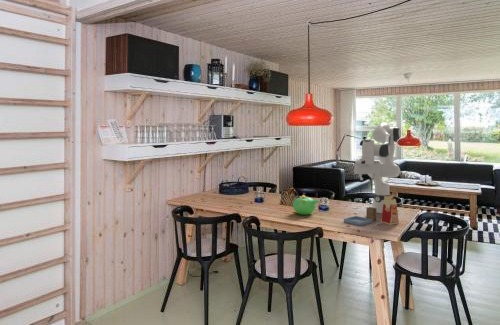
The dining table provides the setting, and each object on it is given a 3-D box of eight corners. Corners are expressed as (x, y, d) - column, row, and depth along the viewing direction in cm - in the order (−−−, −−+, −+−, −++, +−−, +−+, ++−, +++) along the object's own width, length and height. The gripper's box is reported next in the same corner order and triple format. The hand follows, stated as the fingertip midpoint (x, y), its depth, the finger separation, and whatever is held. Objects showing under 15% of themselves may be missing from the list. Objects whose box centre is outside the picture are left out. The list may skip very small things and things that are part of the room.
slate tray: (355, 219, 268) (355, 215, 268) (372, 222, 257) (372, 219, 257) (343, 222, 260) (343, 218, 259) (360, 226, 248) (360, 222, 248)
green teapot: (308, 211, 295) (308, 193, 294) (320, 215, 280) (320, 196, 278) (289, 213, 287) (289, 195, 286) (300, 217, 272) (301, 198, 271)
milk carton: (398, 223, 256) (399, 195, 254) (390, 225, 251) (391, 196, 249) (387, 220, 264) (388, 193, 262) (379, 222, 259) (380, 194, 257)
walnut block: (370, 219, 268) (370, 207, 267) (376, 220, 264) (376, 208, 263) (366, 220, 265) (366, 208, 264) (372, 221, 261) (372, 209, 260)
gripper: (377, 160, 269) (377, 179, 270) (353, 161, 264) (352, 179, 265) (383, 161, 263) (382, 180, 264) (358, 161, 258) (357, 181, 259)
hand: (367, 180), depth 265 cm, fingers open, 8 cm apart
